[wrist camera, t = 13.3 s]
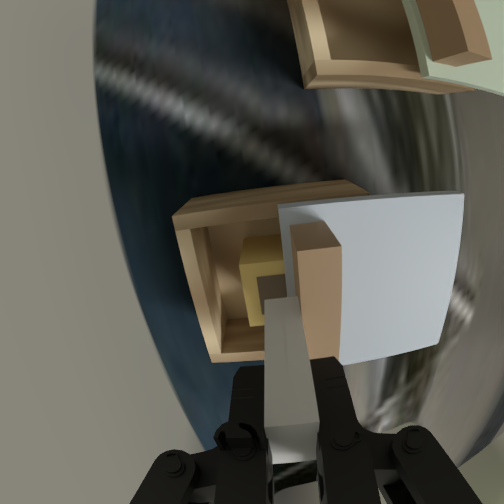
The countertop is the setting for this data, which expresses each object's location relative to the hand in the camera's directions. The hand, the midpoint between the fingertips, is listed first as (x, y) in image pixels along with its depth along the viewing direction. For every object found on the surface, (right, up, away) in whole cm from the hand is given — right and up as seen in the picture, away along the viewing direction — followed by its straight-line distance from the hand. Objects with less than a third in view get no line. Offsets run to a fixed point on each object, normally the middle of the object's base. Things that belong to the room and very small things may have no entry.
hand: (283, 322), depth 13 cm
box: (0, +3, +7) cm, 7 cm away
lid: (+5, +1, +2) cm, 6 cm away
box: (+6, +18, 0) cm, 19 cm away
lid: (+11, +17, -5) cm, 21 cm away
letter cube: (0, +3, +6) cm, 7 cm away
